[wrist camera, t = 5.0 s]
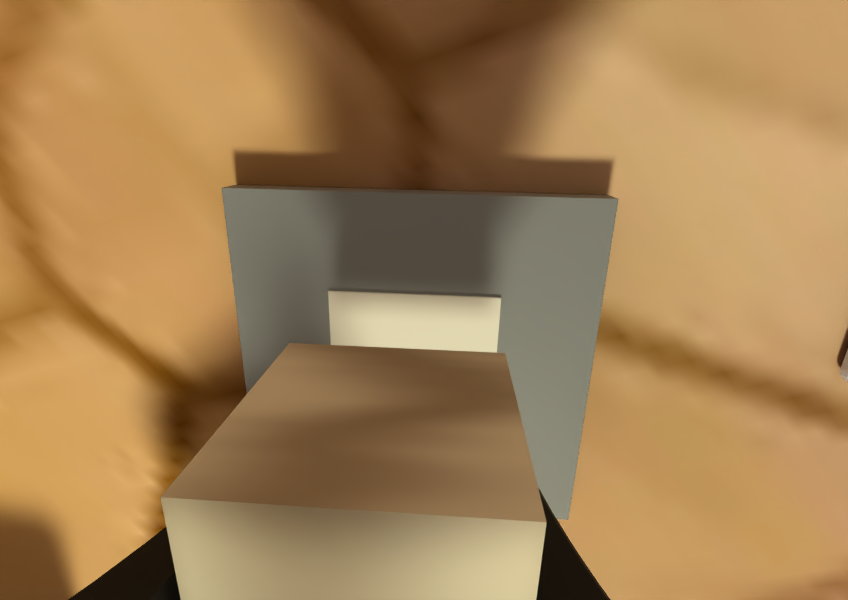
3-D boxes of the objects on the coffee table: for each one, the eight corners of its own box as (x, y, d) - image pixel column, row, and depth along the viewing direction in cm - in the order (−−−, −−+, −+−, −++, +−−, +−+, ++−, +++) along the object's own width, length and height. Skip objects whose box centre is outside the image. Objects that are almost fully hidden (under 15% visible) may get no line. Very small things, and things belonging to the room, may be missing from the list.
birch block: (505, 353, 11) (546, 522, 6) (490, 526, 12) (513, 770, 7) (289, 342, 11) (160, 497, 6) (302, 514, 12) (208, 742, 8)
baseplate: (607, 195, 15) (619, 199, 14) (562, 500, 19) (568, 521, 17) (236, 184, 15) (220, 188, 14) (269, 481, 19) (258, 501, 18)
